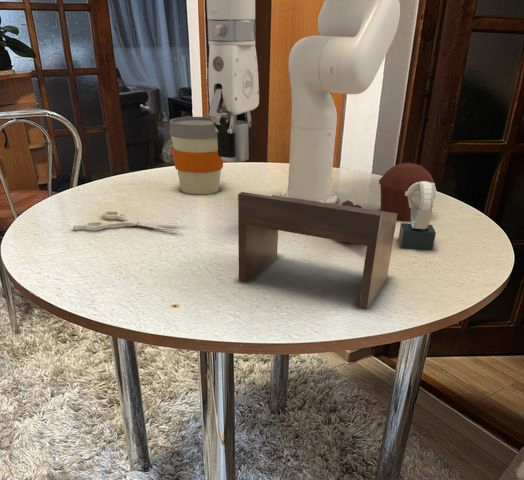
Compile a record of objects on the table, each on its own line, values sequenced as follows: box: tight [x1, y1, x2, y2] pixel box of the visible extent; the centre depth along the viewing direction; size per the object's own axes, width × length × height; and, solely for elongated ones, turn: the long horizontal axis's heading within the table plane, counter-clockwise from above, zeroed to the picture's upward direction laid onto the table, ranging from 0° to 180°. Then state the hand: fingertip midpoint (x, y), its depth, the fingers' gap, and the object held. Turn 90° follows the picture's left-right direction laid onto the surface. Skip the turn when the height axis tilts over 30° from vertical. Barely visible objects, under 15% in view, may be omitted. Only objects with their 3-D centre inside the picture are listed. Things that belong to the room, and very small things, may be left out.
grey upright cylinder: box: [221, 119, 250, 163], centre depth 90 cm, size 5×5×6 cm
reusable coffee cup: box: [168, 116, 224, 195], centre depth 117 cm, size 13×13×15 cm
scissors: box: [72, 210, 186, 233], centre depth 97 cm, size 11×1×20 cm
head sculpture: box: [397, 181, 437, 251], centre depth 90 cm, size 6×8×11 cm
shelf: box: [237, 191, 397, 310], centre depth 75 cm, size 12×20×13 cm, turn 65°
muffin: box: [378, 162, 436, 221], centre depth 105 cm, size 12×11×10 cm
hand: (234, 152), depth 91 cm, fingers closed on grey upright cylinder, 5 cm apart
